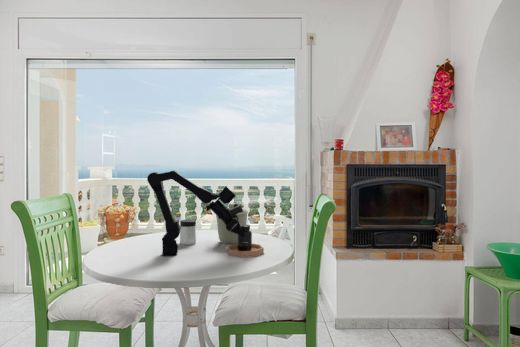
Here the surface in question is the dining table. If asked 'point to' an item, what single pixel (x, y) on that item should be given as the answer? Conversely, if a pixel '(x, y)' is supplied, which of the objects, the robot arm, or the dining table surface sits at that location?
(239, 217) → the canister
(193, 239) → the jar
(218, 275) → the dining table surface
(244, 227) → the supplement bottle
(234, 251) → the terracotta octagonal tray
